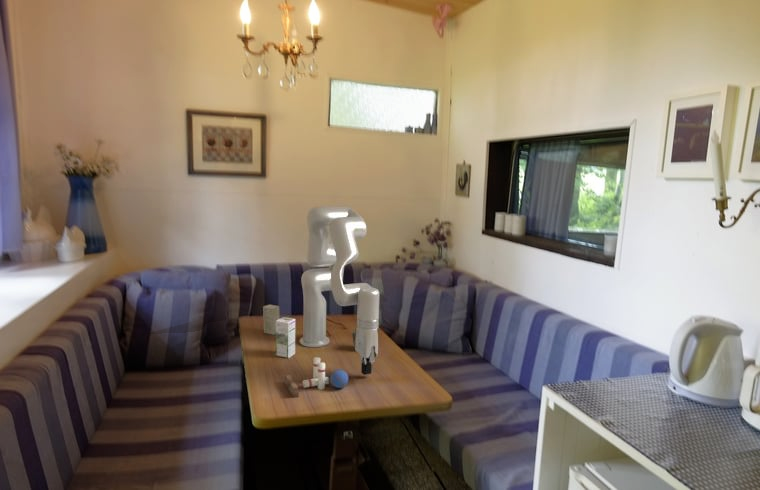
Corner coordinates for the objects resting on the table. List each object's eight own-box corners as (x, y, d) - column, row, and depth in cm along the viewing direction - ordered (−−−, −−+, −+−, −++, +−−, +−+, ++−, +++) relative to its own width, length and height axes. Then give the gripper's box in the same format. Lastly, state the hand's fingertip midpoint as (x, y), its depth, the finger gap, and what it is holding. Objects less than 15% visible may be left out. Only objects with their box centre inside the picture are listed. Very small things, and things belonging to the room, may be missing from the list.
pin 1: (312, 381, 165) (312, 357, 163) (318, 380, 166) (319, 356, 164) (314, 384, 162) (314, 360, 161) (321, 383, 163) (321, 359, 162)
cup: (367, 353, 192) (368, 334, 191) (349, 352, 193) (350, 332, 192) (371, 347, 199) (372, 329, 198) (354, 345, 201) (354, 327, 200)
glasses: (324, 325, 229) (325, 315, 229) (347, 330, 223) (347, 319, 222) (307, 332, 218) (307, 321, 217) (331, 337, 212) (331, 326, 211)
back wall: (284, 382, 163) (284, 374, 162) (288, 382, 163) (288, 373, 163) (293, 397, 152) (294, 388, 152) (298, 396, 153) (298, 387, 152)
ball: (329, 369, 158) (344, 363, 162) (325, 379, 162) (339, 373, 165) (339, 384, 155) (354, 378, 159) (334, 394, 159) (348, 387, 163)
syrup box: (295, 353, 190) (296, 318, 188) (288, 358, 184) (288, 322, 182) (283, 351, 192) (283, 316, 190) (275, 356, 186) (275, 320, 184)
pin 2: (316, 387, 160) (316, 362, 159) (323, 386, 161) (323, 361, 160) (318, 390, 158) (319, 365, 157) (326, 389, 159) (326, 364, 158)
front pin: (326, 381, 164) (302, 385, 161) (326, 375, 164) (302, 378, 160) (328, 385, 162) (304, 389, 158) (329, 379, 161) (304, 382, 158)
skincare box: (280, 332, 215) (280, 306, 213) (273, 335, 211) (273, 308, 209) (270, 330, 218) (270, 304, 216) (262, 332, 214) (262, 306, 212)
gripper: (349, 318, 172) (348, 367, 174) (366, 330, 158) (365, 383, 161) (368, 316, 175) (367, 364, 177) (386, 328, 162) (385, 380, 164)
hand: (366, 373), depth 169 cm, fingers closed
